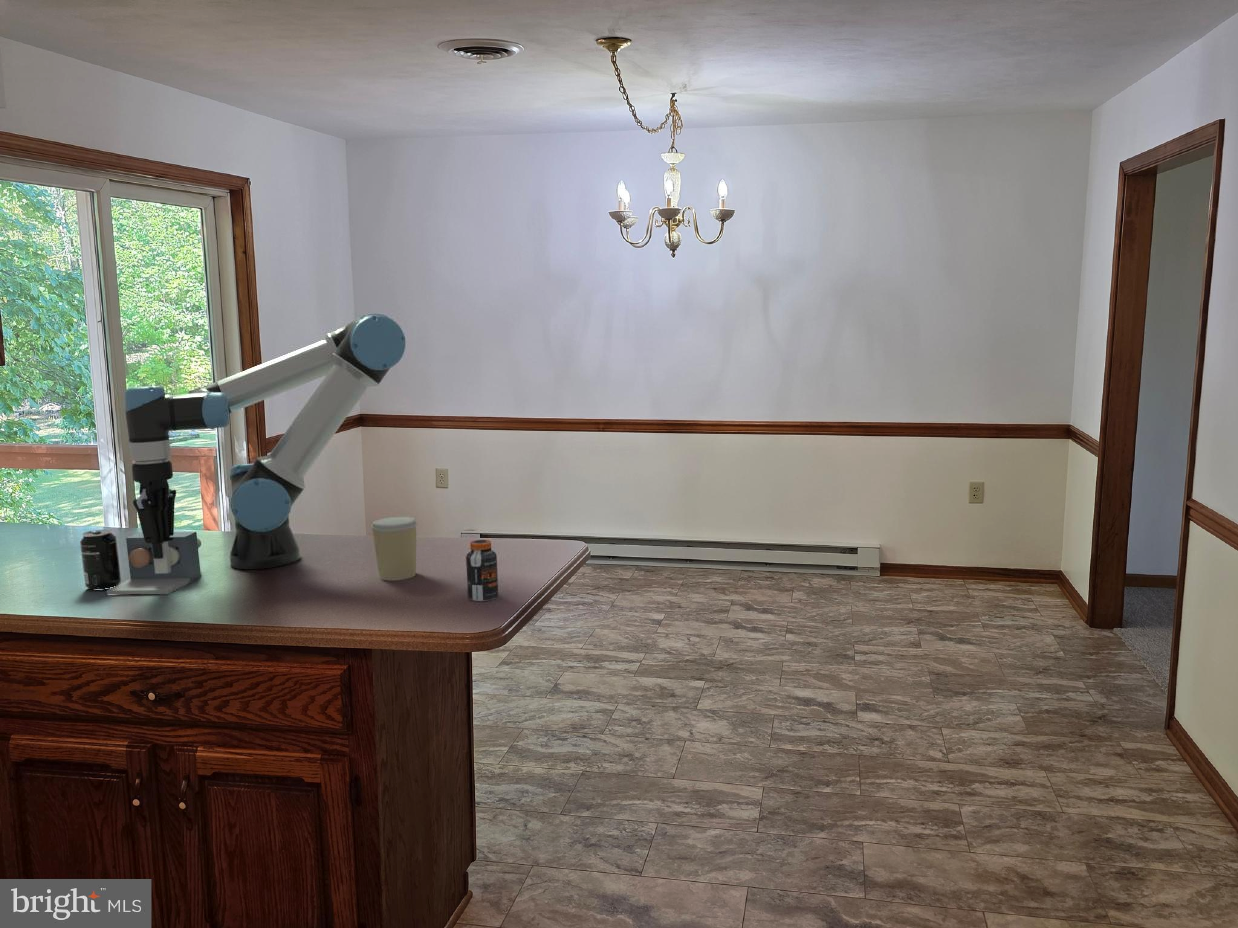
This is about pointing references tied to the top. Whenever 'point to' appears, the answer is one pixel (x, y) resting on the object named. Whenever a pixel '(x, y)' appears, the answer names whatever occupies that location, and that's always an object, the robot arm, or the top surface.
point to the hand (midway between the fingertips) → (163, 572)
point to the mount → (162, 582)
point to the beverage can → (100, 559)
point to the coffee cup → (395, 547)
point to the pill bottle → (482, 571)
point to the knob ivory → (177, 553)
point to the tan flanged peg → (140, 557)
